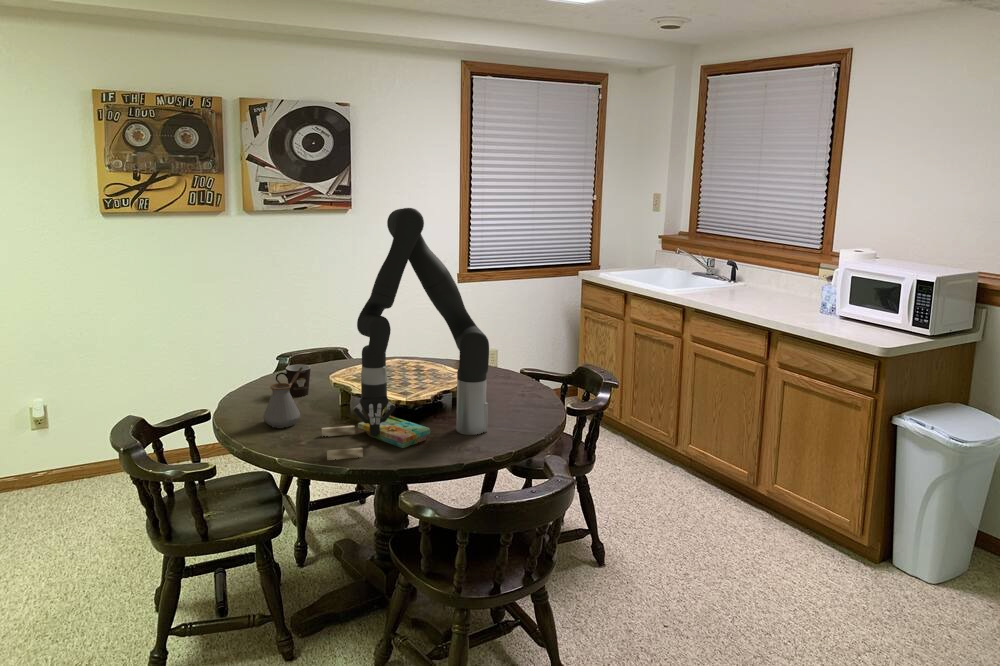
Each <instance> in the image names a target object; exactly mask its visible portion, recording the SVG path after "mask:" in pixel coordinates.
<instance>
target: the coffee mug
mask: <svg viewBox="0 0 1000 666" xmlns="http://www.w3.org/2000/svg"><path fill="white" fill-rule="evenodd" d="M301 367H302V368H304V369H305V370H304V369H302V371H301V373H300V374H299V375H298V378H297V379H296V380H295V381H294V383H293V384H292V385H291V388H290V390H289V392H290V394H291V396H294V398H302V396H303V397H306V395H307V396H308V395H309V389H310V378H311V369H312V367H311V366H310V365H308V364H292V365H287V366H286V367H285V372H279V373H277V374H276V375H275V380H276V382H277V383H281V382H280V381H279V380H278V378H279V376H280V375H284V376H285V378H287V379H286V380H287V383H288V384H290V382H291V380H292V379H293V377H294V375H295V374H296V373H297V371H298V370H299V369H300V368H301Z"/></svg>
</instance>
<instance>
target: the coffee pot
mask: <svg viewBox="0 0 1000 666" xmlns="http://www.w3.org/2000/svg"><path fill="white" fill-rule="evenodd" d="M302 369H304V368H302V367H301V368H300V369H299V370H298V371H297V373H296V374H295V375H294V377H293V379H292V380H291V382H290V384H288V382H280V383H278V382H277V383H273V384H270V386H269V388H270V389H271V396H270V398H269V400H268V403H267V405H266V407H265V411H264V413H263V415H262V418H263V420H264V422H265V423H266V424H267V425H269V426H270V425H271V426H272V427H271V426H270V427H271V428H274V427H277V428H276V429H284V427H286V428H290V427H293V426H294V425H295V423H297V422H298V421H299V419H300V417H301V413H300V410H299V408H298V407H297V405H296V402H295V401H294V398H293V397H292V396H291V394H290V391H289V390H290V388H291V385H292V384H293V383H294V381H295V380H296V379H297V378H298V375H299V374H300V373H301V371H302ZM304 370H305V369H304ZM289 426H290V427H289Z"/></svg>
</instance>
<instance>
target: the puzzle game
mask: <svg viewBox="0 0 1000 666" xmlns="http://www.w3.org/2000/svg"><path fill="white" fill-rule="evenodd" d="M374 423H375V417H374ZM357 428H358V429H360V430H363V431H365V432H366V434H367V435H368V436H369V437H371V438H374V439H376V440H379V441H382V442H384V443H388V444H390V445H393V446H396V447H398V448H401V449H405V448H407V447H410V445H411V446H413V445H417V444H418V442H419V443H421V442H423V441H426V439H427V438H428V437H429V435H430V434H431V429H430V427H428V426H427V427H426V426H424V425H421V424H418V423H415V422H411V421H408V420H405V419H401V418H399V417H395V416H393V415H390V416H389V417H388V419H387V420H386V421H385V422H382V423H380V433H379V434H378V436H372V435H371V434H370V424H368V423H367V424H366V423H364V422H363V421H360V422H358V423H357Z"/></svg>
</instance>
